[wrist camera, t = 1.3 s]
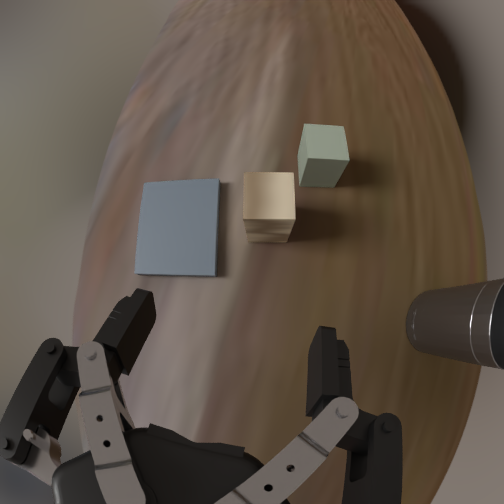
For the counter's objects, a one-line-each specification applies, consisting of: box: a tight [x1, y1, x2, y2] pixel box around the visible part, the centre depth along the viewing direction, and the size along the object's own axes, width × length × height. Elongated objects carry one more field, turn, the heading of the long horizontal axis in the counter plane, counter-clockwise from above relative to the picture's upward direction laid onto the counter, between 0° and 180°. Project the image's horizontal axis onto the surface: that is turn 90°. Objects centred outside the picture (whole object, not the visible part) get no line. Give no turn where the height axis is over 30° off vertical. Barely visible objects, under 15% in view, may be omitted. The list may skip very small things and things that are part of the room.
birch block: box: [243, 172, 296, 242], centre depth 32 cm, size 5×5×10 cm
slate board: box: [135, 179, 220, 277], centre depth 36 cm, size 11×13×2 cm
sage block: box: [298, 124, 350, 188], centre depth 34 cm, size 5×5×8 cm
